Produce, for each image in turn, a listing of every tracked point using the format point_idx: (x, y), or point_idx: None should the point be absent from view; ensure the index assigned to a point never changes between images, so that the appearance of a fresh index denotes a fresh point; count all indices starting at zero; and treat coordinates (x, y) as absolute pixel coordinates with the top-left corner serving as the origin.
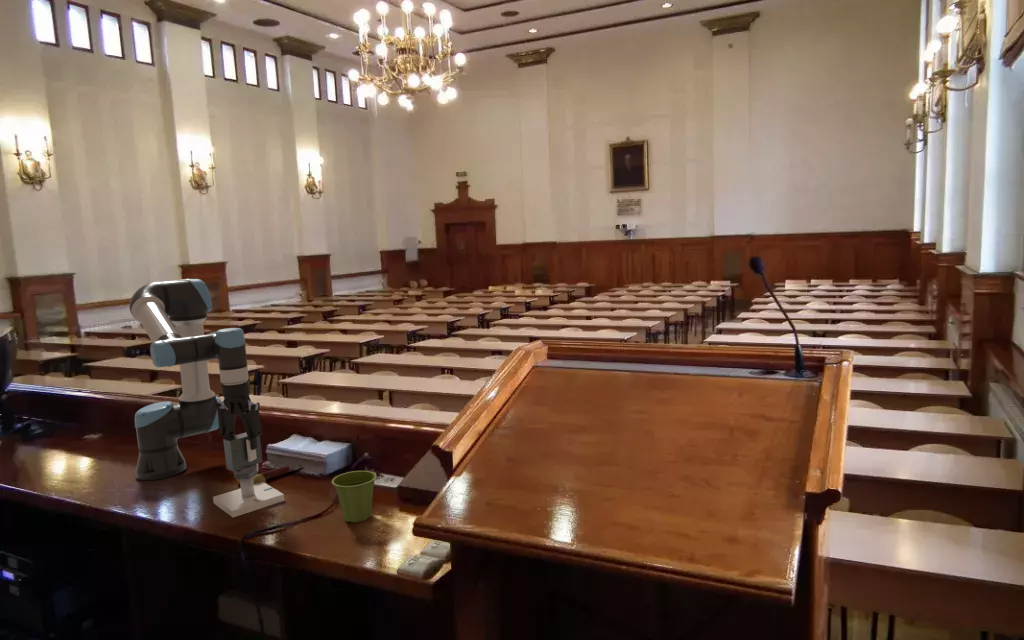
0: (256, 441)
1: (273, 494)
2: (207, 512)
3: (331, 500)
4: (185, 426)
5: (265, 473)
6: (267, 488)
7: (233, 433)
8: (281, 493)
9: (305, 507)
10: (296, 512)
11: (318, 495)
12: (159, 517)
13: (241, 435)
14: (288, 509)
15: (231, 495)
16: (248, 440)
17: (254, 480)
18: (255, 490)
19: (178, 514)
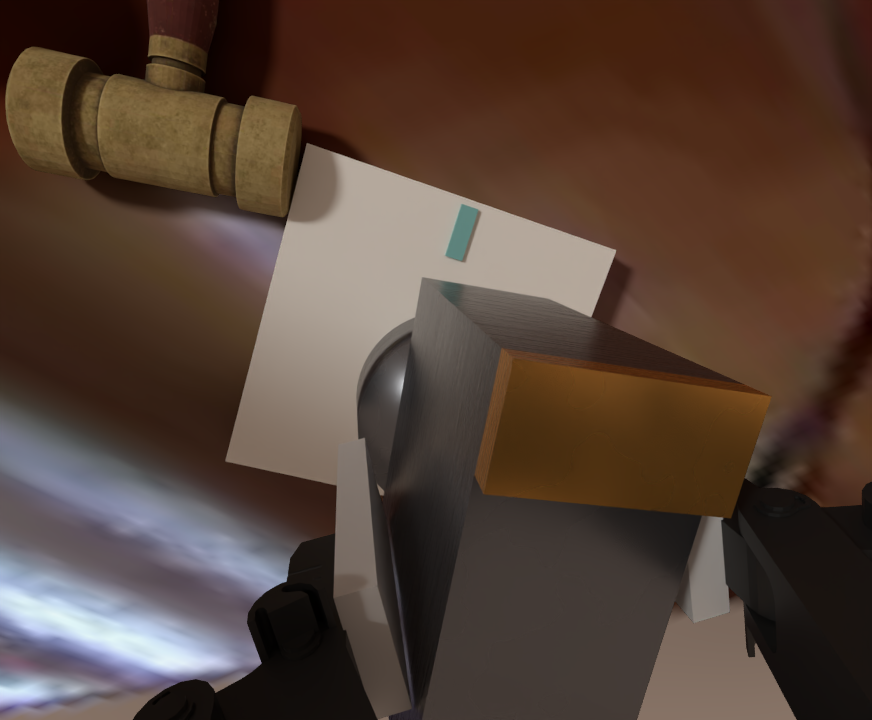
0: (744, 482)
1: (560, 279)
2: (318, 526)
3: (848, 137)
4: None
5: (195, 15)
6: (456, 232)
7: (348, 656)
8: (596, 248)
9: (766, 267)
10: (760, 330)
11: (738, 107)
12: (133, 667)
13: (545, 613)
14: (698, 321)
15: (318, 399)
16: (722, 601)
17: (286, 198)
18: (397, 281)
19: (191, 606)
